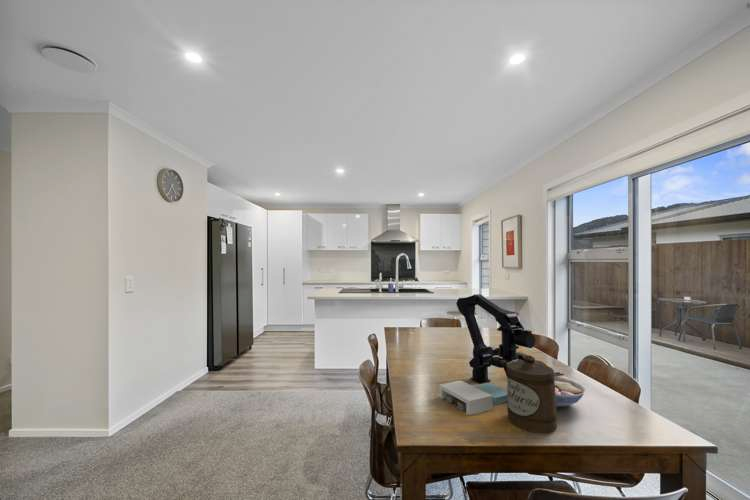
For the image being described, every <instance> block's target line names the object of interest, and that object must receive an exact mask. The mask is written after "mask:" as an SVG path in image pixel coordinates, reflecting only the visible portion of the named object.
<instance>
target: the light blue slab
mask: <svg viewBox="0 0 750 500" xmlns="http://www.w3.org/2000/svg"><path fill="white" fill-rule="evenodd" d="M474 387H475V388H478V389H480V390H482V391H484V392H486V393H488V394H490V395H492V405H499V404H503V403H507V389H504V388H502V387H500V386H497V385H495V384H493V383H491V382H490V383H485V384H481V385H477V386H476V385H475V386H474Z"/></svg>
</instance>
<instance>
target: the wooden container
mask: <svg viewBox="0 0 750 500" xmlns="http://www.w3.org/2000/svg"><path fill="white" fill-rule="evenodd" d="M524 360H525V362H510V363H508V364H507V376H506V379H507V382H506V383H507V387H506V388H507V389H506V390H507V402H506V403H507V418H508V421H509V422H510V423H511V424H513V425H514V426H516V427H517V428H520V429H522V430H524V431H528V432H533V433H541V434H546V433H552V432H554V431H556V429H557V427H558V421H557V420H558V419H557V414H558V413H557V407H556V396H555V382H554V373H555V370H554V369H553V368H552V367H550V366H548V365H547V364H546V365H547V366H546V365H543V364H539V363H534V362H535V360H536V358H535V357H533V356H532V355H530V354H529V355H528V354H527V356H525V357H524Z"/></svg>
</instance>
